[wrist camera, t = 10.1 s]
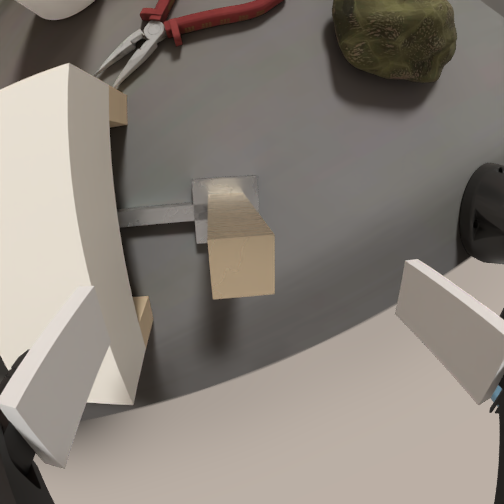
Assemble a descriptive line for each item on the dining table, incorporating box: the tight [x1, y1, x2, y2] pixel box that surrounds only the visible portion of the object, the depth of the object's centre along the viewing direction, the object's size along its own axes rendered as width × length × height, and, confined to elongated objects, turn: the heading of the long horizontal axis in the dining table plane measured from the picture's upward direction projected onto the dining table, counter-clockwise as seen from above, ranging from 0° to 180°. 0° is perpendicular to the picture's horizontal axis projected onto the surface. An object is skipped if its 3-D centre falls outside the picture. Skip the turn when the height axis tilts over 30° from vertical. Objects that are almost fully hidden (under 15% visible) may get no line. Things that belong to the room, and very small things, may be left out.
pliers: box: [94, 0, 283, 88], centre depth 20 cm, size 12×20×3 cm, turn 134°
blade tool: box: [117, 175, 275, 299], centre depth 20 cm, size 26×10×15 cm, turn 92°
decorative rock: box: [332, 0, 457, 83], centre depth 19 cm, size 15×16×10 cm
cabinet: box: [0, 63, 153, 405], centre depth 21 cm, size 14×24×13 cm, turn 2°
